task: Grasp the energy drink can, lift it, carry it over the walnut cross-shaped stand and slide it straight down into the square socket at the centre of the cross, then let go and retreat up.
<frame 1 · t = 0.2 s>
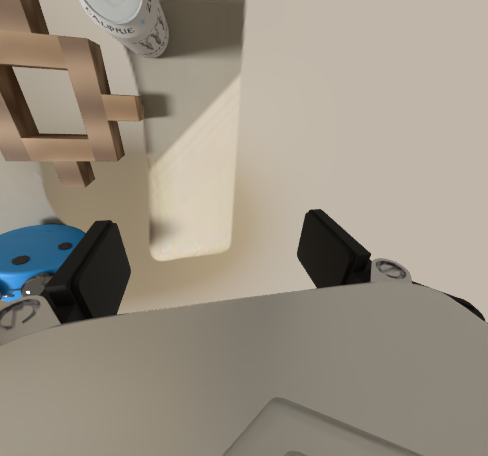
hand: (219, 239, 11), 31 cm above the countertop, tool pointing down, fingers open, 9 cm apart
energy drink can: (145, 30, 29), on the countertop
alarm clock: (63, 235, 41), on the countertop
cross socket stand: (59, 103, 30), on the countertop
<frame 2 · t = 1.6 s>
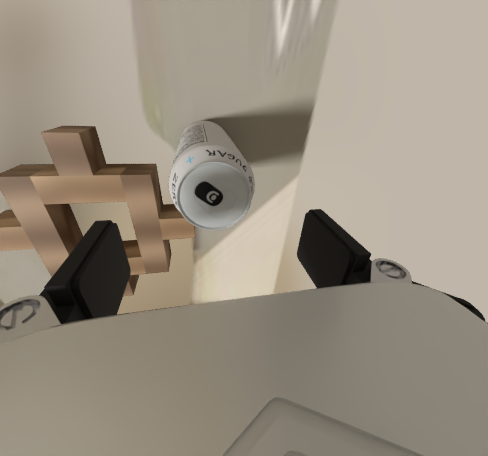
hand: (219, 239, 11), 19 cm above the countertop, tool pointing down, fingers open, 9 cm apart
energy drink can: (205, 146, 26), on the countertop
cross socket stand: (109, 216, 29), on the countertop
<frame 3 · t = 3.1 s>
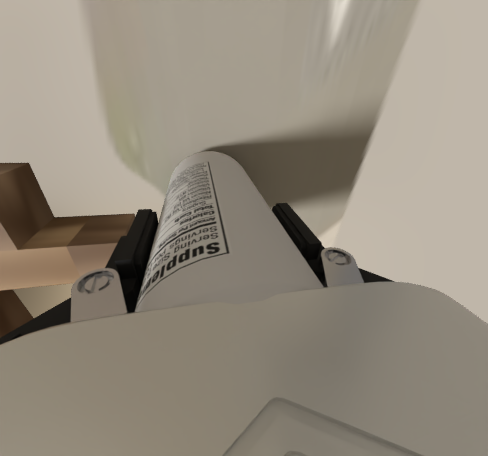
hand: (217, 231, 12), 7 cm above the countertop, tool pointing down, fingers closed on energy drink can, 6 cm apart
energy drink can: (209, 186, 17), on the countertop, touching gripper
cross socket stand: (67, 287, 19), on the countertop
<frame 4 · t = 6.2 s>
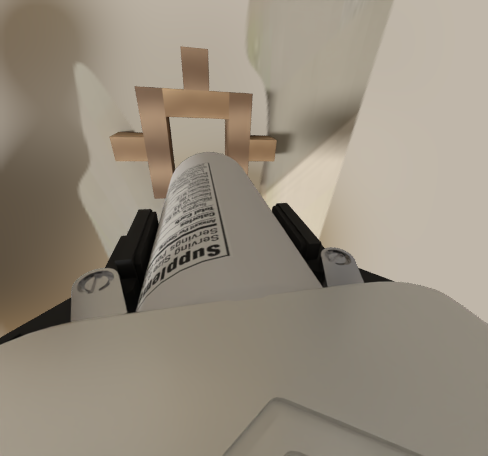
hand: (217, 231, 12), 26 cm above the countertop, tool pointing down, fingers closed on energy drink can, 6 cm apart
energy drink can: (210, 187, 17), point 19 cm above the countertop, touching gripper
cross socket stand: (199, 144, 33), on the countertop
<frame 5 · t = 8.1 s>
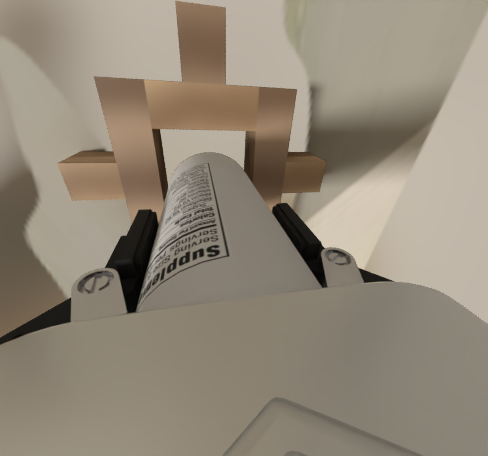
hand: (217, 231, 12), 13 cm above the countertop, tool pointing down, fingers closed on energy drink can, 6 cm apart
energy drink can: (209, 187, 17), point 6 cm above the countertop, touching gripper
cross socket stand: (206, 166, 22), on the countertop
when the fingers open (8 cm above the countertop, at t = 9.4 s): energy drink can drops 2 cm, resting in cross socket stand.
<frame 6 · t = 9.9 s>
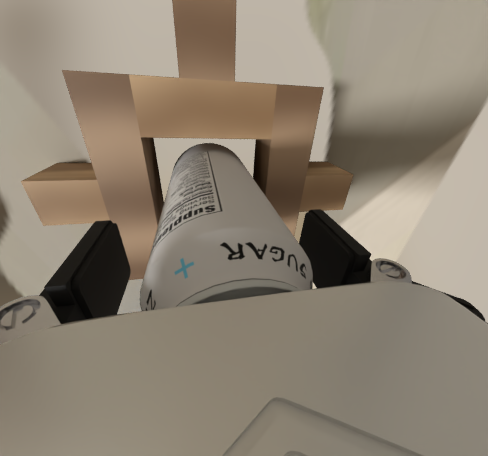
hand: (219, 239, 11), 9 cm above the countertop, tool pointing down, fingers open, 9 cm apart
energy drink can: (209, 176, 19), resting in cross socket stand
cross socket stand: (208, 179, 19), on the countertop
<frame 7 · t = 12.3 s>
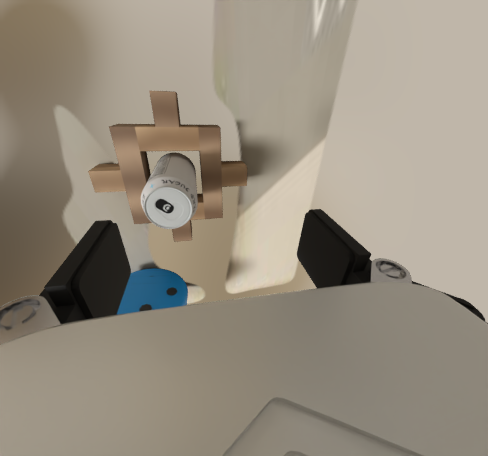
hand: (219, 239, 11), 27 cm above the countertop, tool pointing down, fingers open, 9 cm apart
energy drink can: (176, 170, 35), resting in cross socket stand
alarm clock: (155, 277, 45), on the countertop
cross socket stand: (176, 171, 35), on the countertop
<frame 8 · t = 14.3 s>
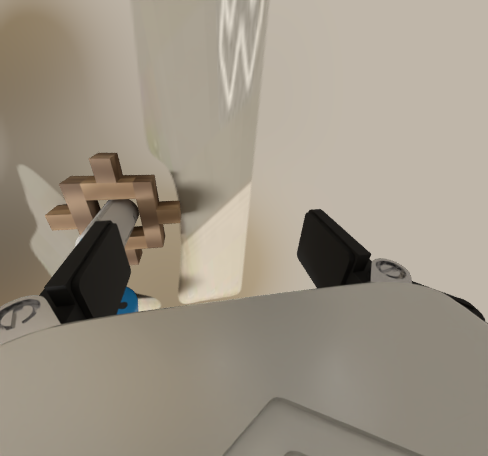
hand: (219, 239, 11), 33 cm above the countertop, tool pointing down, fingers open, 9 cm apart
energy drink can: (123, 208, 43), resting in cross socket stand
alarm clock: (114, 290, 53), on the countertop
cross socket stand: (123, 209, 43), on the countertop
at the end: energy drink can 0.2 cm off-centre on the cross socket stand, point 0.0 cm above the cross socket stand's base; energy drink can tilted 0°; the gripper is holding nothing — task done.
